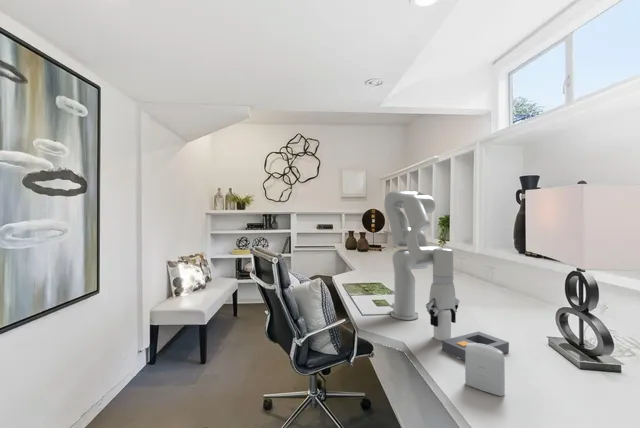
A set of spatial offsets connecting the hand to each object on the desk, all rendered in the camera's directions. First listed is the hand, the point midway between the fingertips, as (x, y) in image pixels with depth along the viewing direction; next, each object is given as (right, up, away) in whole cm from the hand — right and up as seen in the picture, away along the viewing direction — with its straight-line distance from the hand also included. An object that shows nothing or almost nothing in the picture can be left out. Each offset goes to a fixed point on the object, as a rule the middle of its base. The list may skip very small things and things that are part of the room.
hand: (443, 323), depth 131 cm
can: (0, -6, +1) cm, 6 cm away
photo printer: (-2, -7, -37) cm, 37 cm away
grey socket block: (+7, -6, -11) cm, 15 cm away
